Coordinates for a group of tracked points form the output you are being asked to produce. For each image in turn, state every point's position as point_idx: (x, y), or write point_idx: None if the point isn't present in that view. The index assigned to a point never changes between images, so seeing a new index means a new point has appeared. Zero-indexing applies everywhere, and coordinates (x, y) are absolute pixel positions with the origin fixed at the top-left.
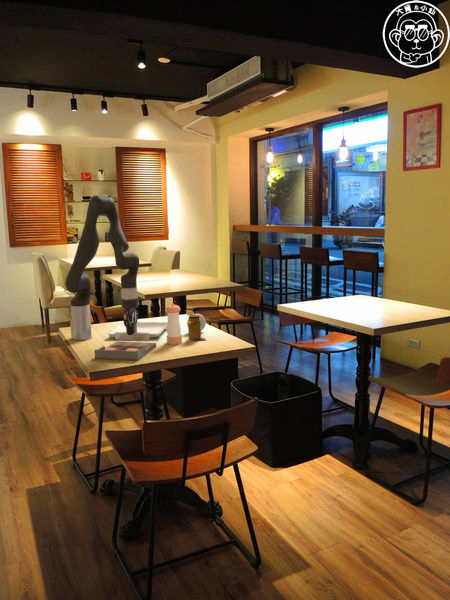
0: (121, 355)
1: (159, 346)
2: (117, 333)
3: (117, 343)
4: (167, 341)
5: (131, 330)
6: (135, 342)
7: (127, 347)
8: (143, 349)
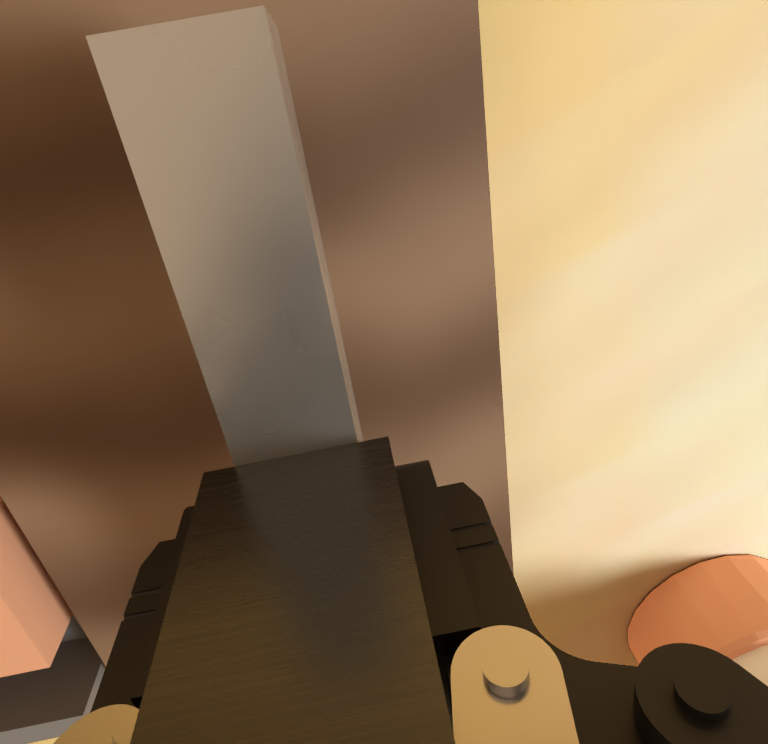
0: None
1: (532, 571)
2: (134, 160)
3: (307, 25)
4: (672, 609)
5: None
6: (481, 347)
7: (127, 410)
8: (34, 731)
